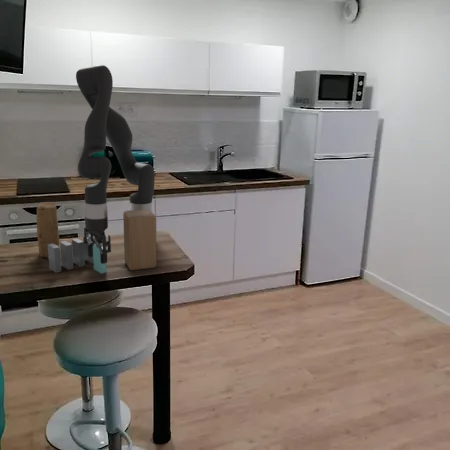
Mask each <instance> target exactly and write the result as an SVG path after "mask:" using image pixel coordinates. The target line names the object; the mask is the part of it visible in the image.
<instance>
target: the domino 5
mask: <svg viewBox="0 0 450 450" xmlns="http://www.w3.org/2000/svg"><path fill="white" fill-rule="evenodd" d="M102 250H103V247H102ZM93 261H94V263H93V271H96V272H98V273H99V274H105V273H107V263H104V264H102V263H101V261H100V250H99V248H97V246H96V244H95V245H93Z"/></svg>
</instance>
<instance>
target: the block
mask: <svg viewBox="0 0 450 450" xmlns="http://www.w3.org/2000/svg"><path fill="white" fill-rule="evenodd" d="M36 232H37V244H38V245H37V247H38V254H39V256H40V257H41V258H48V259H49V257H48V244H55V245H57V246H59V247H60V235H59V234H60V233H59V232H60V231H59V221H58V211H57V204H56V203H55V202H54V201H44V202H39V203H38V204H37V207H36Z"/></svg>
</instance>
